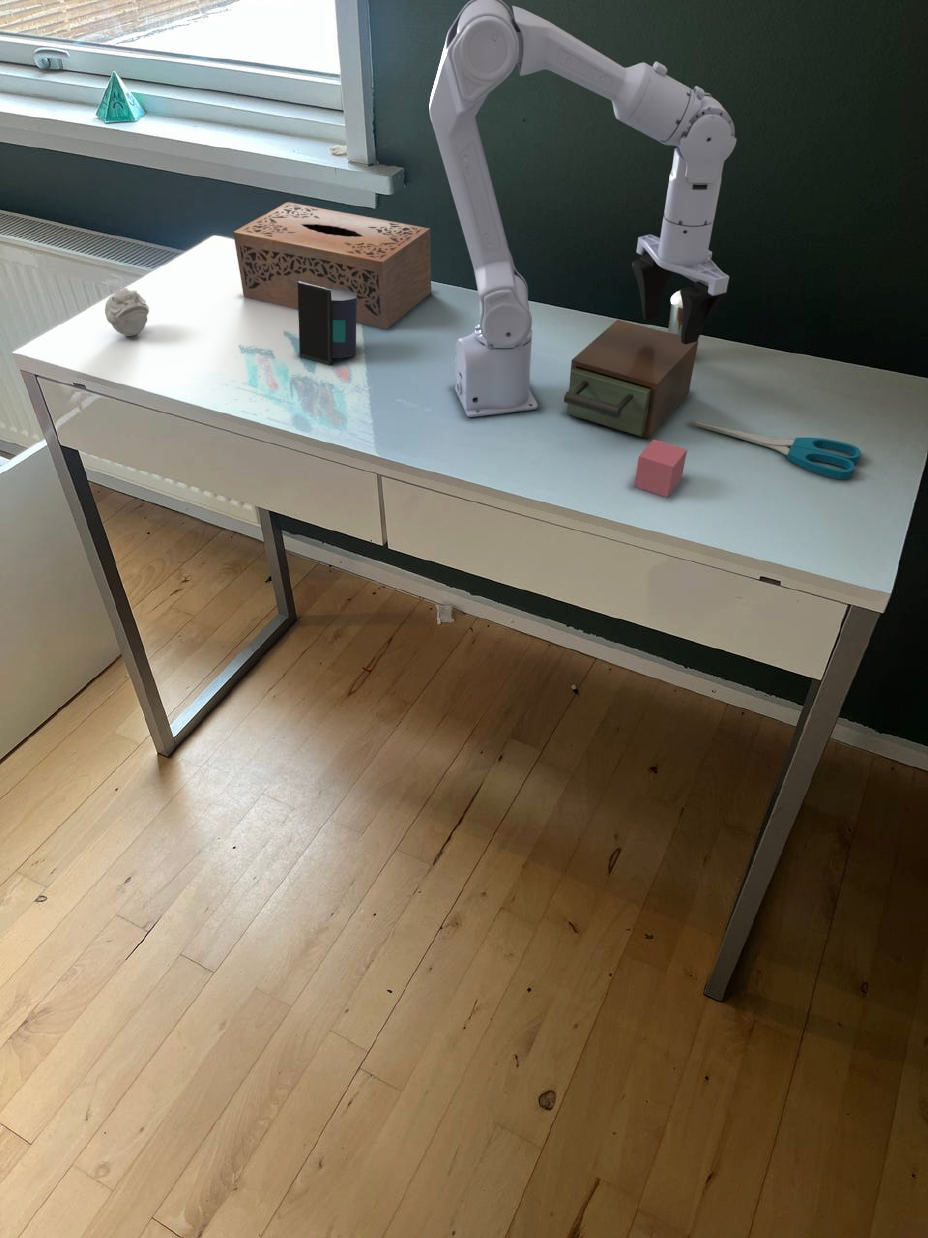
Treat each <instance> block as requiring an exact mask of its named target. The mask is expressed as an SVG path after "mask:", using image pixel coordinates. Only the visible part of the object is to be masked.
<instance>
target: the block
mask: <svg viewBox="0 0 928 1238" xmlns="http://www.w3.org/2000/svg"><path fill="white" fill-rule="evenodd" d="M687 454H688V449H687V448H683V447H680V446H676V445H674V444H670V443H667V442H663V441H661V440H658V439H652V441H650V443H649V444H648V445H647V446H646V447H645V448H644V449H643V450H642V452H641V453H640V454H639V455H638V457H637V458H638V459H637V464H636V472H635V478H634V484H633V487H634V488H637V489H641V490H643V491H645V492H649V493H652V494H655V495H659V496H661V497H664V498H666V499H667V498H669V496H671V494H672V493H673V491H674V490H675V489H676V488H677V486H678V485H679V484H680V483H681V482H682V479H683V473H684V468H685V463H686V459H687Z"/></svg>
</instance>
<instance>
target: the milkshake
mask: <svg viewBox="0 0 928 1238" xmlns="http://www.w3.org/2000/svg"><path fill="white" fill-rule="evenodd" d="M668 317H669V320H668V329H667V330H668V331H667V332H668V333H672V334H676V335H679V336H681V330H682V322H683V305H682V298H681V294H680V290H678V291H675V293H673V294H672V295H671V297H670V302H669V316H668Z"/></svg>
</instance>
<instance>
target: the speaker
mask: <svg viewBox="0 0 928 1238" xmlns="http://www.w3.org/2000/svg"><path fill="white" fill-rule="evenodd" d="M297 313H298V316H297V317H298V347H299V357H300V358H303V359H306V360H310V361H314V362H317V363H321V364H324V365H327V366H332V365H333V358H337V359H340V358H341V359H343V358H349V357H353V356H354V355H356V354H357V323H356V316H357V294H356V293H354V292H352V291H349V290H344V289H327V288H323V287H319V286H315V285H311V284H308V283H304V282H300V281H299V282H298V309H297Z"/></svg>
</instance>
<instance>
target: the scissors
mask: <svg viewBox="0 0 928 1238" xmlns="http://www.w3.org/2000/svg"><path fill="white" fill-rule="evenodd" d="M693 426H696V427H699V428H703V429H706V430H709V431H713V432H716V433H720V434H724V435H726V436H731V437H734V438H737V439H740V440H744V441H746V442H751V443H753V444H757V445H761V446H763V447H767V448H770V449H772V450H775V451H777V452H779V453H782V454H783V455H785V456H786V459H787V460H789V461H790V462H791V463H794V464H795V465H797V466H799V467H801V468H803V469H805V470H808V471H809V472H813V473H816V474H818V475H822V476H825V477H829V478H833V479H839V480H847V479H850V478H852V477H853V474H854V471H855V469H856V465H855V464H858V462H859V461H860V457H861V454H862V452H861V450H860V448H859V447H858V446H856V445H853V444H850V443H847V442H843V441H839V440H834V439H829V438H820V437H795V439H782V438H781V439H779V438H773V437H769V436H764V435H759V434H754V433H750V432H746V431H740V430H735V429H730V428H726V427H721V426H718V425H712V424H707V423H704V422H699V421H694V422H693ZM789 447H790V448H789ZM820 447H821V448H820ZM822 448H827V449H831V450H836V451H839V452H843V453H847V454H850V455H846V454H845V455H844V454H841V453H837V452H832V451H829V450H825V449H822ZM814 461H817V462H822V463H826V464H830V465H835V466H838V467H842V468H844V469H839V468H833V467H830V466H826V465H822V464H819V463H816V462H814Z"/></svg>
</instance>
